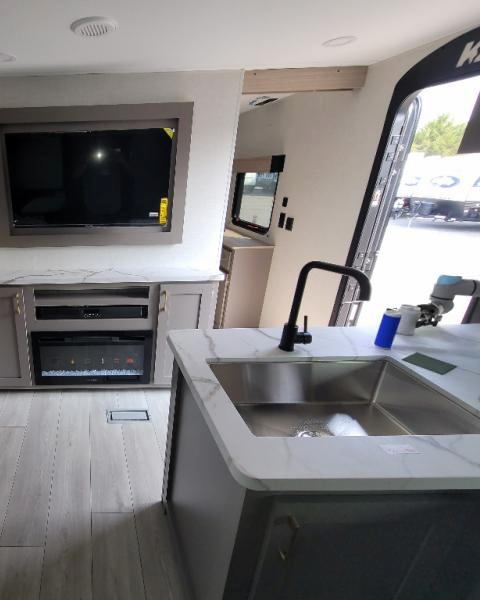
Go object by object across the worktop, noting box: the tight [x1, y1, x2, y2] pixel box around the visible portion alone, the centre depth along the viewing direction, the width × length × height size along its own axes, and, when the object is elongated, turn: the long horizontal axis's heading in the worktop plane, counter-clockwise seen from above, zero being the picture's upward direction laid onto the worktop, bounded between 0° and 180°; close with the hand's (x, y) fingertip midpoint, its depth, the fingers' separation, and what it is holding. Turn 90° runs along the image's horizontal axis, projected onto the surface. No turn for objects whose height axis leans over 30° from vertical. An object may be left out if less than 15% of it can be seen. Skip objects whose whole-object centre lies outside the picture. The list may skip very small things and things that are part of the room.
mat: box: [401, 351, 458, 375], centre depth 118 cm, size 11×11×1 cm
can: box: [396, 303, 422, 336], centre depth 139 cm, size 8×8×12 cm
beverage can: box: [373, 310, 402, 350], centre depth 128 cm, size 5×5×15 cm
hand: (400, 320), depth 137 cm, fingers open, 10 cm apart
